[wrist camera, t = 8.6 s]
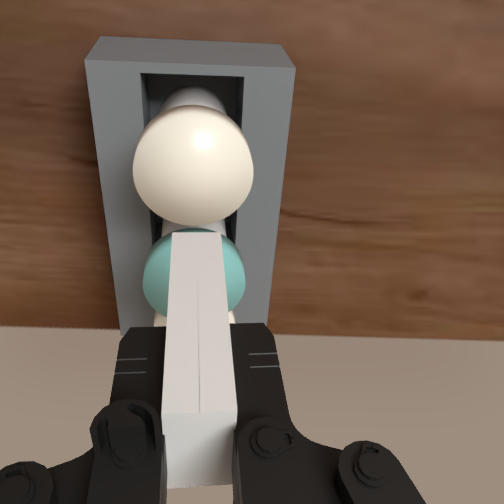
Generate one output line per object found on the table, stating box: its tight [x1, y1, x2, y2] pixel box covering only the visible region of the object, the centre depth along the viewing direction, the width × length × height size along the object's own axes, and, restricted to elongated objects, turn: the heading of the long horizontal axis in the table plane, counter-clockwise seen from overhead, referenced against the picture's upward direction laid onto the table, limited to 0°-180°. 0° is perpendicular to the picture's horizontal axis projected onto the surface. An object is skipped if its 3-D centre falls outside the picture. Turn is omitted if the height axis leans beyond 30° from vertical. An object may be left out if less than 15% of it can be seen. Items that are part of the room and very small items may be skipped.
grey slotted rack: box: [84, 36, 296, 335], centre depth 30 cm, size 10×18×5 cm, turn 176°
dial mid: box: [143, 218, 245, 317], centre depth 26 cm, size 5×5×7 cm
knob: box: [133, 85, 253, 226], centre depth 23 cm, size 5×5×6 cm
